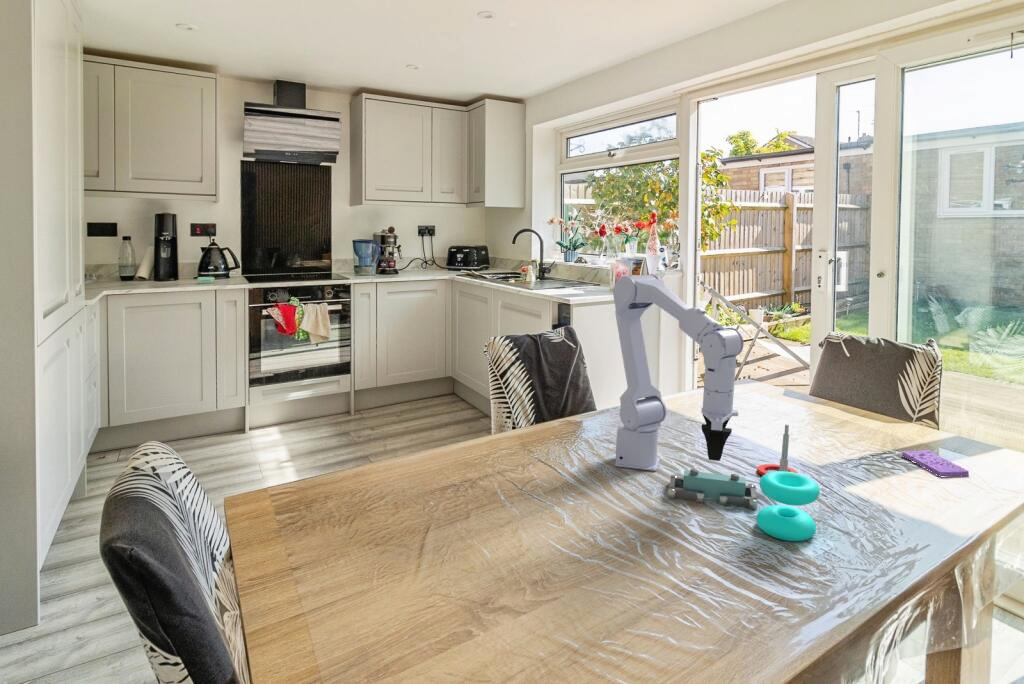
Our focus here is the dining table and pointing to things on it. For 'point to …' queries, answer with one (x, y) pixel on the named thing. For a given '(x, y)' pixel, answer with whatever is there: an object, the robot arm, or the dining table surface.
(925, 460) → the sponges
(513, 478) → the dining table surface
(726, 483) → the teal studded beam
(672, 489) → the chain end
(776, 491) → the donuts
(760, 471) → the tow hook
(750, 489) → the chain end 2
